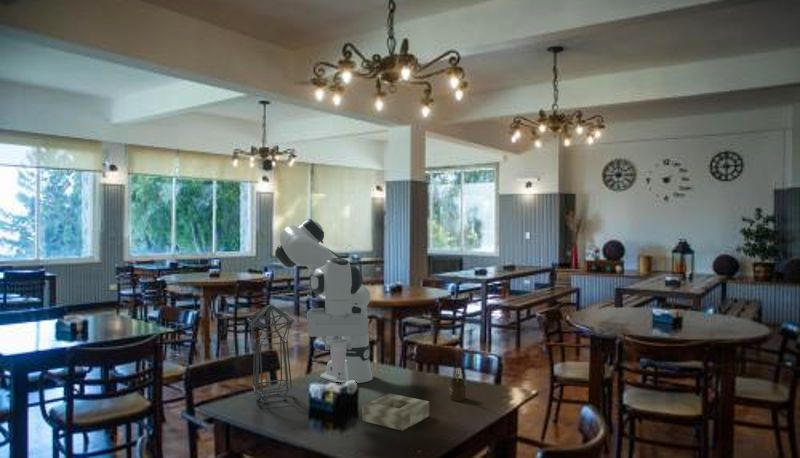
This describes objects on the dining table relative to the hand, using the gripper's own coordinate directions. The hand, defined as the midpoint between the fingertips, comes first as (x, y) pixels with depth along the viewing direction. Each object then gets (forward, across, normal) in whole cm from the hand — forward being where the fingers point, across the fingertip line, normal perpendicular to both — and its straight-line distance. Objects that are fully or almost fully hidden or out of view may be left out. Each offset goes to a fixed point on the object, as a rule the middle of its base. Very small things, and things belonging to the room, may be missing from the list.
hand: (338, 349), depth 185 cm
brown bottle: (+23, +44, +17) cm, 52 cm away
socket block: (+23, +19, -2) cm, 30 cm away
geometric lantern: (+23, -25, +23) cm, 41 cm away
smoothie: (+7, 0, 0) cm, 7 cm away
